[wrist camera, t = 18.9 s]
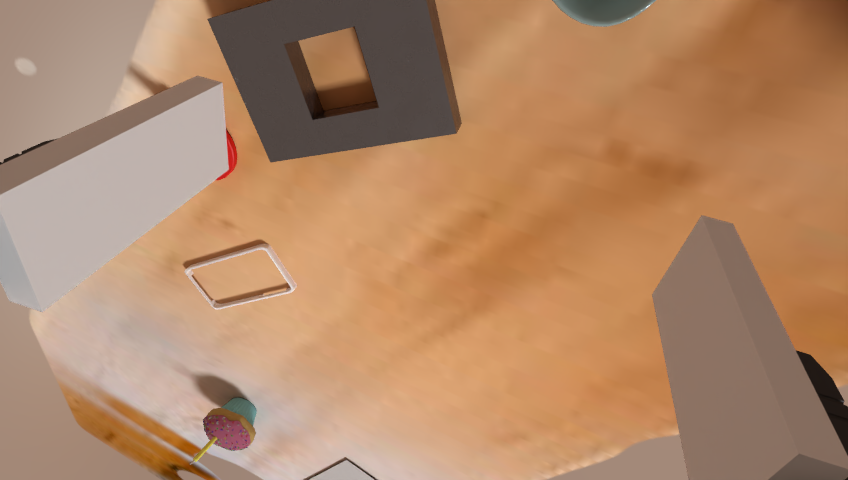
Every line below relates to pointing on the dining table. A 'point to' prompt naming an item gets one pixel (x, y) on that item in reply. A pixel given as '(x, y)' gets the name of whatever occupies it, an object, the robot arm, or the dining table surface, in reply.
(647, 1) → the cup
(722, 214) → the dining table surface
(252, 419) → the cupcake
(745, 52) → the dining table surface
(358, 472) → the paper stack
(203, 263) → the phone case
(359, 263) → the dining table surface
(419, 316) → the dining table surface
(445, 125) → the socket block
